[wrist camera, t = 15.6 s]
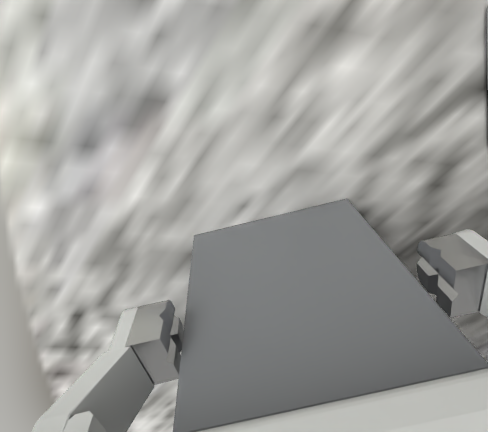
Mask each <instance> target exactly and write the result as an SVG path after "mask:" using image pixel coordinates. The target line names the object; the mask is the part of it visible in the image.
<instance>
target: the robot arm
mask: <svg viewBox="0 0 488 432" xmlns="http://www.w3.org/2000/svg"><path fill="white" fill-rule="evenodd" d="M417 252H418V253H419V254H420V255H421V256H422V257H421V258H420V260H419V261H418V262H417V273H418V277H419V280H420V282H421V283H422V285H423V287H424V288H425V289H426V290H427V291H428V292H430V293H432V294H435V295H437V300H436V302H437V303H438V304H439V305H440V306H441V308H442V309H443V310H444V311H445V312H446V313H447V314H448V316H449V317H450V318H451V317H456V316H461V315H467V314H472V313H477V312H480V314H482V315H484V316H486V317H488V241H487V240H486V239H484V238H483V237H482V236H480V235H479V234H477V233H476V232H475V231H473V230H469V229H467V230H463V231H459V232H455V233H452V234H449V235H444V236H440V237H436V238H432V239H428V240H424V241H420V242H419V244H418V251H417ZM174 312H175V308H174V306H173V304H172V302H171V301H169V300H167V301H162V302H158V303H153V304H148V305H143V306H140V307H135V308H130V309H126V310H124V311H123V312H122V314H121V317H120V320H119V322H118V325H117V328H116V331H115V334H114V337H113V340H112V342H111V345H110V348H109V351H108V352H104V353H103V354H102V355H101V356H100V357H99V358H98V359H97V360H96V361H95V362H94V363H93V364H92V365H91V366H90V367H89V368H88V369H87V370H86V371H85V372H84V373H83V374H82V375H81V376H80V377H79V378H78V379H77V380H76V381H75V383H74V384H73V385H72V386H71V387H70V388H69V389H68V390H67V391H66V392H65V393H64V394H63V395H62V396H61V397H60V398H59V399H58V400H57V401H56V402H55V403H54V404H53V405H52V406H51V407H50V408H49V409H48V410H47V411H46V412H45V413H44V414H43V415H42V416H41V417H40V419H38V420H37V422H36V424H35V426H34V428H33V430H32V432H127V430H128V428H129V427H130V425H131V423H132V422H133V420H134V419H135V417H136V415H137V414H138V412H139V411H140V409H141V407H142V406H143V404H144V403H145V401H146V399H147V398H148V396H149V394H150V393H151V391H152V390H153V388H154V385H156V384H160V383H164V382H168V381H171V380H175V379H179V371H180V361H181V355H180V352H181V350H182V343H183V334H184V330H183V326H182V323H181V321H180V318H178V317H176V316H175V315H174ZM197 432H488V368H487V369H482V370H478V371H473V372H469V373H464V374H460V375H455V376H450V377H446V378H441V379H437V380H432V381H428V382H423V383H418V384H414V385H409V386H405V387H400V388H396V389H391V390H386V391H382V392H377V393H373V394H368V395H363V396H359V397H354V398H350V399H345V400H340V401H336V402H331V403H326V404H322V405H317V406H313V407H308V408H303V409H299V410H294V411H290V412H285V413H280V414H276V415H271V416H266V417H262V418H257V419H253V420H248V421H243V422H239V423H234V424H230V425H225V426H220V427H216V428H211V429H207V430H202V431H197Z"/></svg>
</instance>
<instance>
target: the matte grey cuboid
mask: <svg viewBox="0 0 488 432" xmlns="http://www.w3.org/2000/svg"><path fill="white" fill-rule="evenodd" d="M487 368H488V363H487V362H486V361H485V359H484V358H483V357H482V356H481V355H480V354H479V352H478V351H477V350H476V349H475V348H474V347H473V345H472V344H471V343H470V342H469V341H468V340H467V338H466V337H465V336H464V335H463V334H462V333H461V331H460V330H459V329H458V328H457V327H456V326H455V324H454V323H453V322H452V321H451V320H450V318H449V317H448V316H447V315H446V314H445V313H444V311H443V310H442V309H441V308H440V307H439V306H438V304H437V303H436V302H435V301H434V300H433V299H432V297H431V296H430V295H429V294H428V293H427V292H426V290H425V289H424V288H423V287H422V286H421V285H420V283H419V282H418V281H417V280H416V279H415V278H414V276H413V275H412V274H411V273H410V272H409V271H408V269H407V268H406V267H405V266H404V265H403V264H402V262H401V261H400V260H399V259H398V258H397V256H396V255H395V254H394V253H393V252H392V251H391V249H390V248H389V247H388V246H387V245H386V244H385V242H384V241H383V240H382V239H381V238H380V237H379V235H378V234H377V233H376V232H375V231H374V230H373V228H372V227H371V226H370V225H369V224H368V223H367V221H366V220H365V219H364V218H363V217H362V216H361V214H360V213H359V212H358V211H357V210H356V209H355V207H354V206H353V205H352V204H351V203H350V202H349V200H348V199H344V200H340V201H336V202H332V203H328V204H324V205H319V206H315V207H311V208H307V209H303V210H299V211H294V212H290V213H286V214H282V215H278V216H274V217H269V218H265V219H261V220H257V221H253V222H249V223H244V224H240V225H236V226H232V227H228V228H224V229H220V230H215V231H211V232H207V233H203V234H199V235H195V236H194V241H193V250H192V259H191V269H190V278H189V287H188V296H187V306H186V315H185V324H184V334H183V343H182V352H181V361H180V371H179V380H178V389H177V398H176V408H175V417H174V426H173V432H197V431H202V430H207V429H211V428H216V427H220V426H225V425H230V424H234V423H239V422H243V421H248V420H253V419H257V418H262V417H266V416H271V415H276V414H280V413H285V412H290V411H294V410H299V409H303V408H308V407H313V406H317V405H322V404H326V403H331V402H336V401H340V400H345V399H350V398H354V397H359V396H363V395H368V394H373V393H377V392H382V391H386V390H391V389H396V388H400V387H405V386H409V385H414V384H418V383H423V382H428V381H432V380H437V379H441V378H446V377H450V376H455V375H460V374H464V373H469V372H473V371H478V370H482V369H487Z"/></svg>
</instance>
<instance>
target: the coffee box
mask: <svg viewBox="0 0 488 432" xmlns="http://www.w3.org/2000/svg"><path fill="white" fill-rule="evenodd" d="M487 88H488V8H487Z"/></svg>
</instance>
